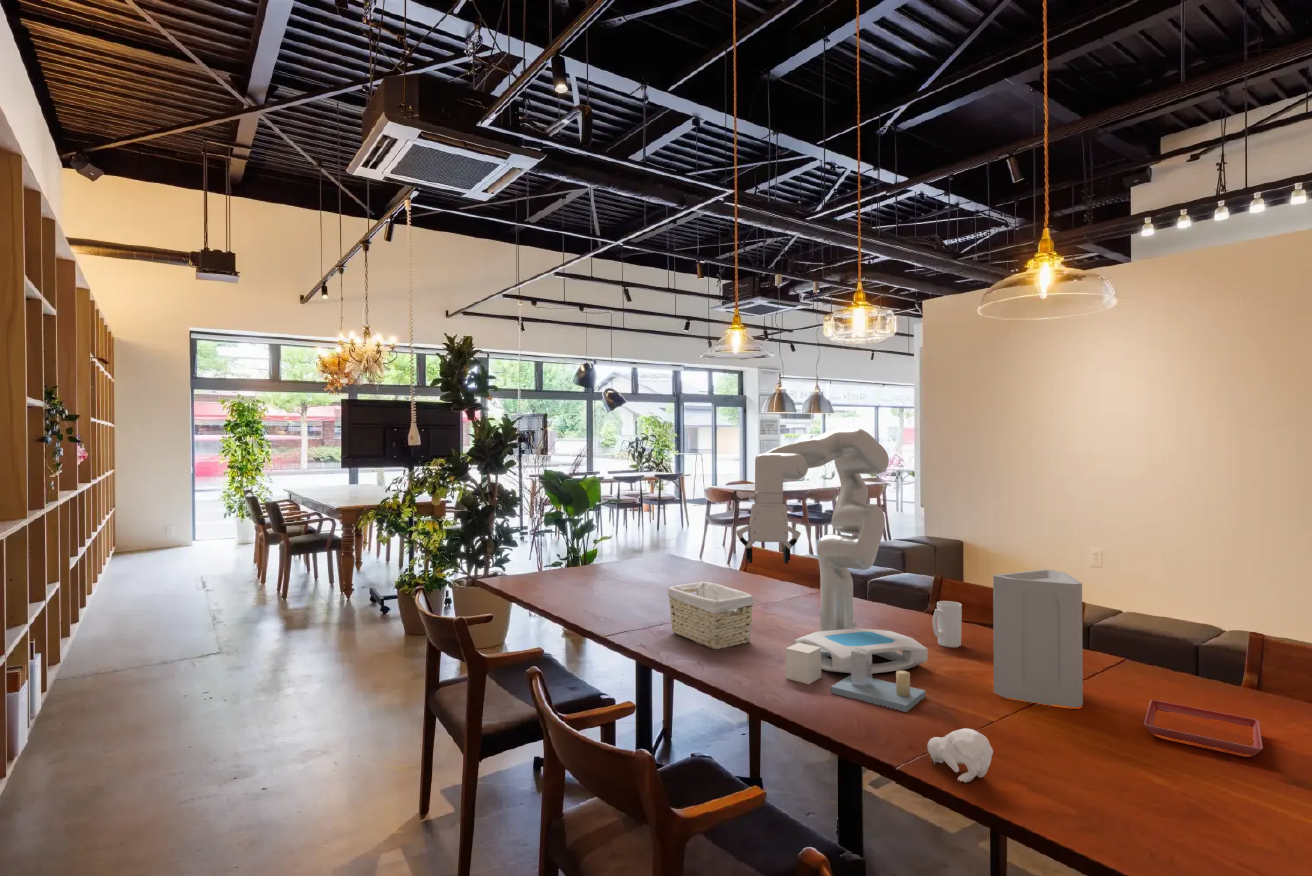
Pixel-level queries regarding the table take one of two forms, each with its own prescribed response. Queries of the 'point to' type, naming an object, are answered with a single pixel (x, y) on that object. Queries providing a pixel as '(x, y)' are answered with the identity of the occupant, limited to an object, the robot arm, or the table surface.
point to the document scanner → (866, 648)
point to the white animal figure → (962, 752)
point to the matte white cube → (803, 663)
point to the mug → (948, 623)
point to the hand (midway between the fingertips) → (767, 562)
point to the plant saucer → (1206, 714)
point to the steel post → (861, 668)
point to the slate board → (883, 692)
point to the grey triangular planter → (1038, 637)
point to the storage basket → (711, 614)
